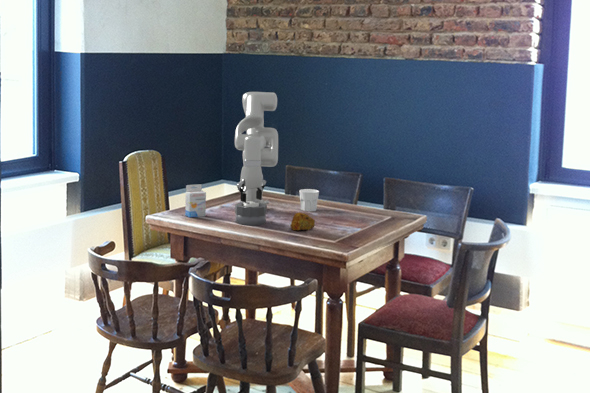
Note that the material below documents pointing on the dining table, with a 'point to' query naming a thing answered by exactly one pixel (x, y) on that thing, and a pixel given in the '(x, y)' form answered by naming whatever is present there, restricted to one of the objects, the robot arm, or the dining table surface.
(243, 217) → the grey stepped puck
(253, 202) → the cap
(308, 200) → the cup
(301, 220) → the rock
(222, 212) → the dining table surface
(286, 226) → the dining table surface
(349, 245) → the dining table surface
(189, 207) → the ink box
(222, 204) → the dining table surface
